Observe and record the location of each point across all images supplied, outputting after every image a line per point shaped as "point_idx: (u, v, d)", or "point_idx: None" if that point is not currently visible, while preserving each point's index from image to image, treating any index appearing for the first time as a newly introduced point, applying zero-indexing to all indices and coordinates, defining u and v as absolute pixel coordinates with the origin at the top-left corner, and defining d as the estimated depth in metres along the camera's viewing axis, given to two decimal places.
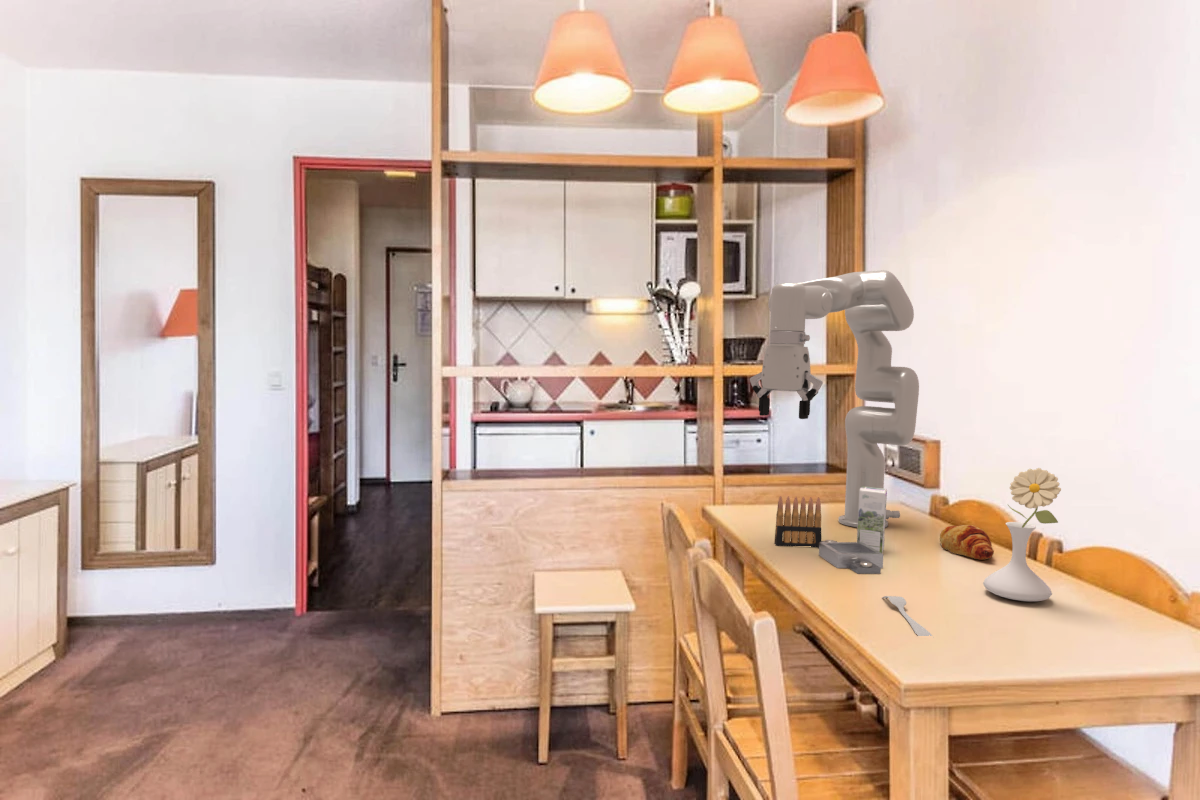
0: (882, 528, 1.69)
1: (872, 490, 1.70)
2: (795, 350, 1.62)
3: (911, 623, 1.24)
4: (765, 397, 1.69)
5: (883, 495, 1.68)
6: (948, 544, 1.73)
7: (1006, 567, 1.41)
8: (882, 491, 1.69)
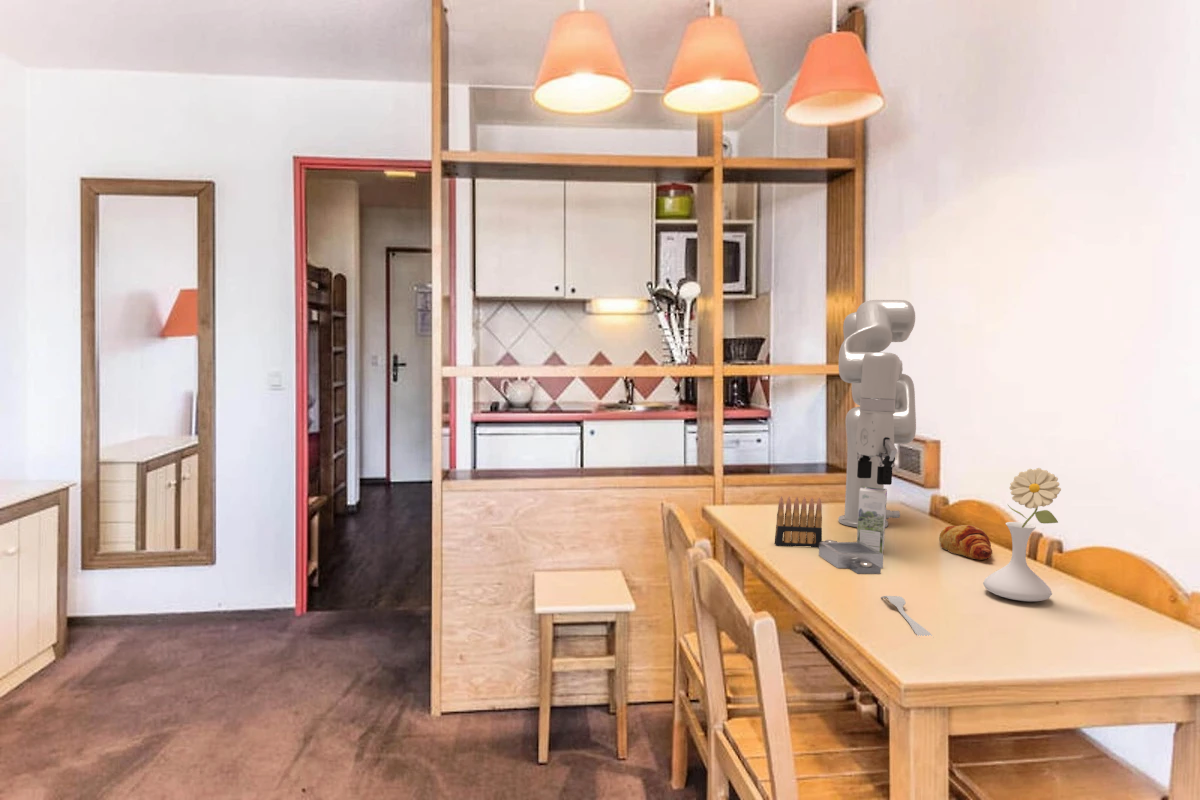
0: (882, 528, 1.69)
1: (872, 490, 1.70)
2: None
3: (911, 623, 1.24)
4: None
5: (883, 495, 1.68)
6: (947, 544, 1.73)
7: (1006, 567, 1.41)
8: (882, 491, 1.69)
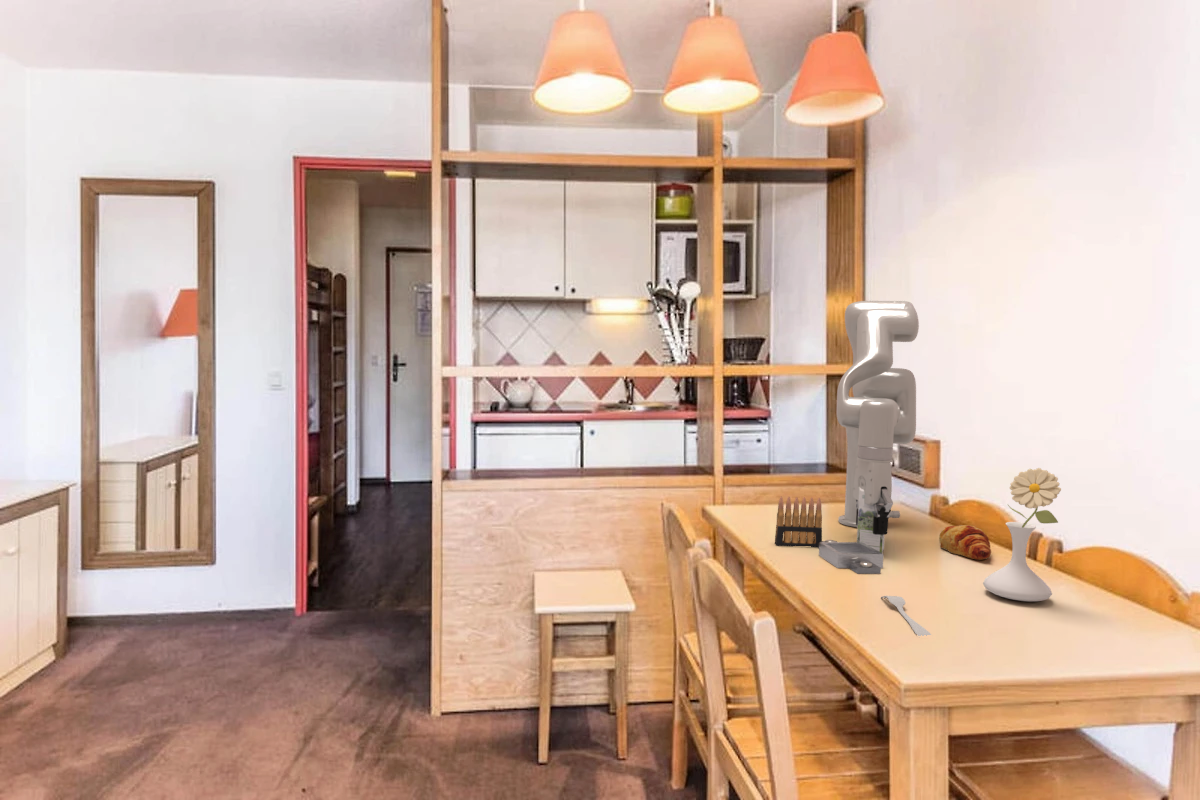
0: None
1: None
2: None
3: (910, 623, 1.24)
4: None
5: None
6: (946, 544, 1.73)
7: (1006, 567, 1.41)
8: None
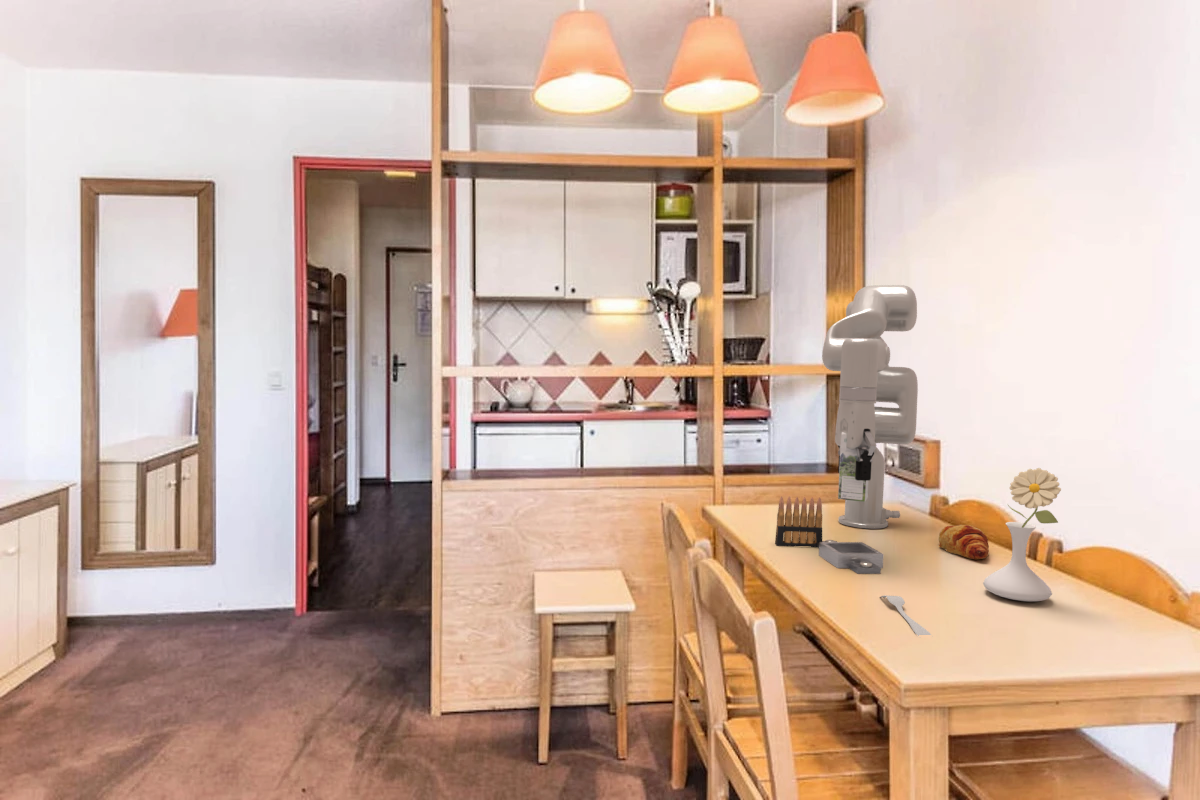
0: None
1: None
2: None
3: (910, 623, 1.24)
4: None
5: None
6: (944, 543, 1.74)
7: (1006, 567, 1.41)
8: None
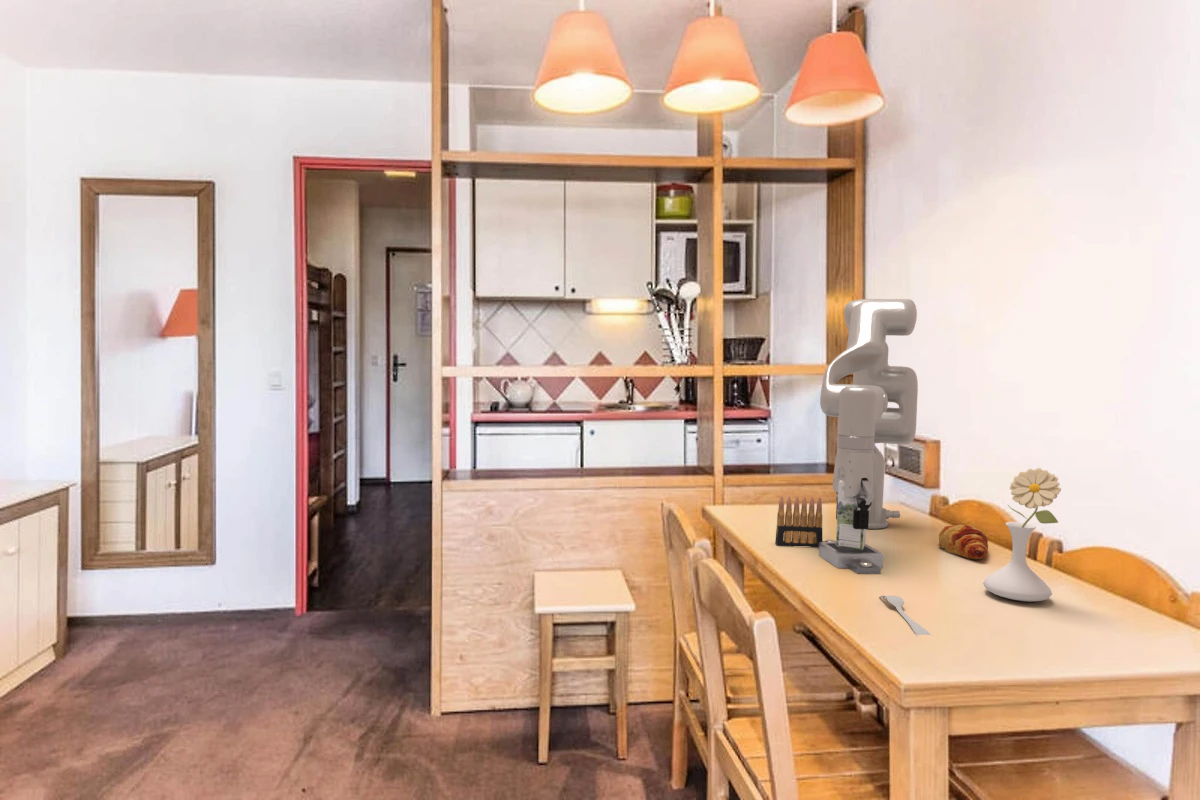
0: None
1: None
2: None
3: (910, 623, 1.25)
4: None
5: None
6: (944, 543, 1.74)
7: (1006, 567, 1.41)
8: None
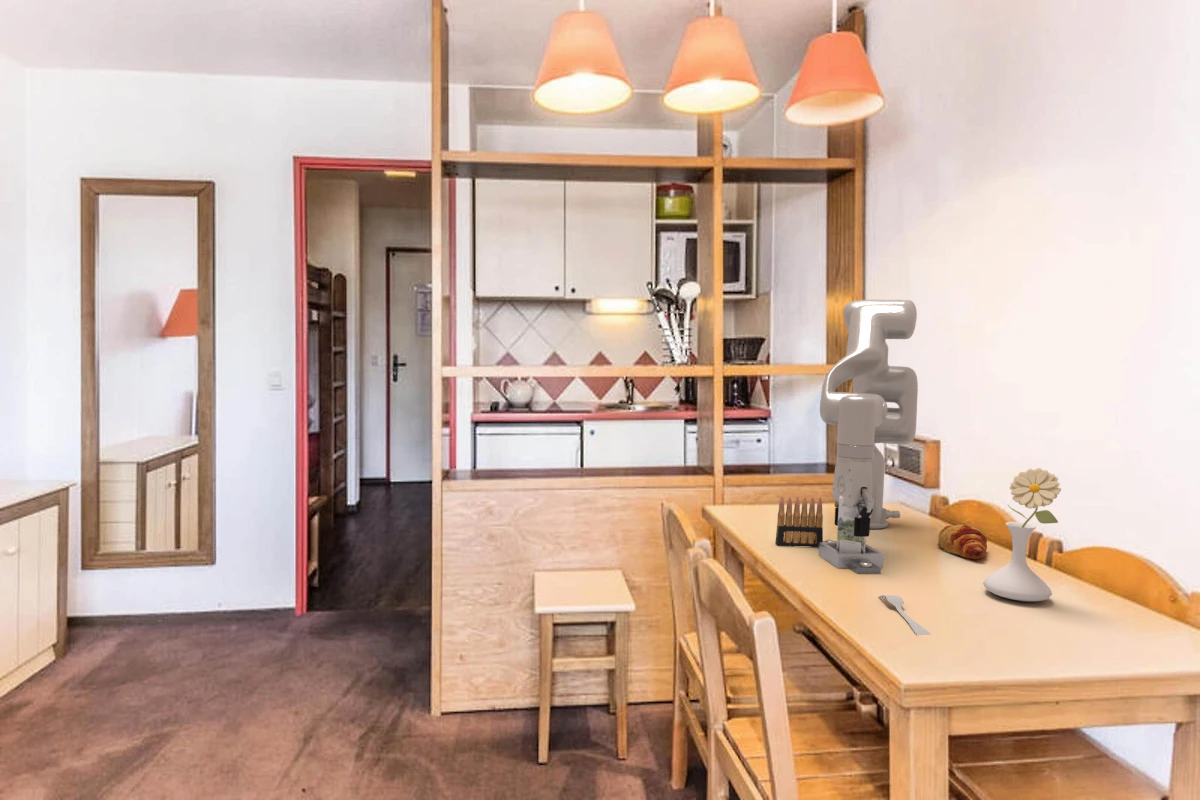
0: (863, 538, 1.59)
1: None
2: None
3: (910, 622, 1.25)
4: None
5: None
6: (943, 543, 1.74)
7: (1006, 567, 1.41)
8: None
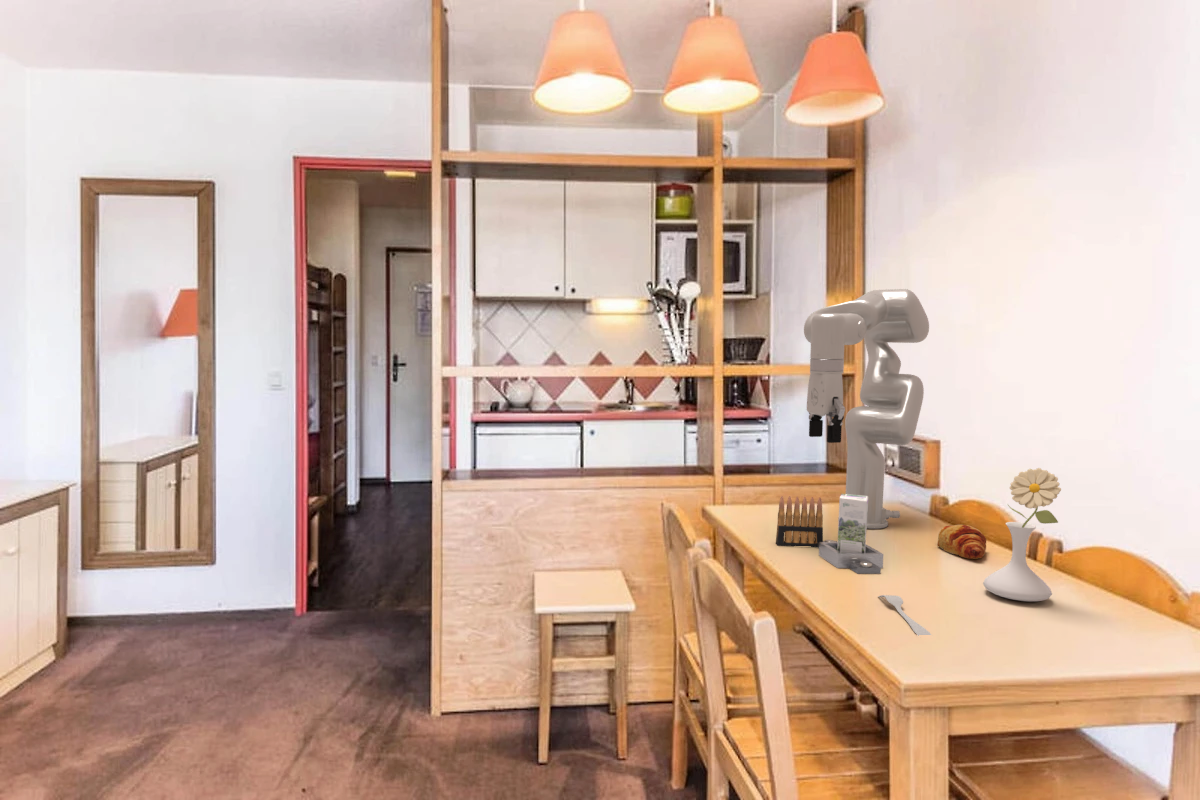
0: (864, 538, 1.59)
1: (853, 498, 1.60)
2: None
3: (909, 622, 1.25)
4: None
5: (865, 503, 1.58)
6: (942, 543, 1.74)
7: (1006, 567, 1.41)
8: (863, 499, 1.59)
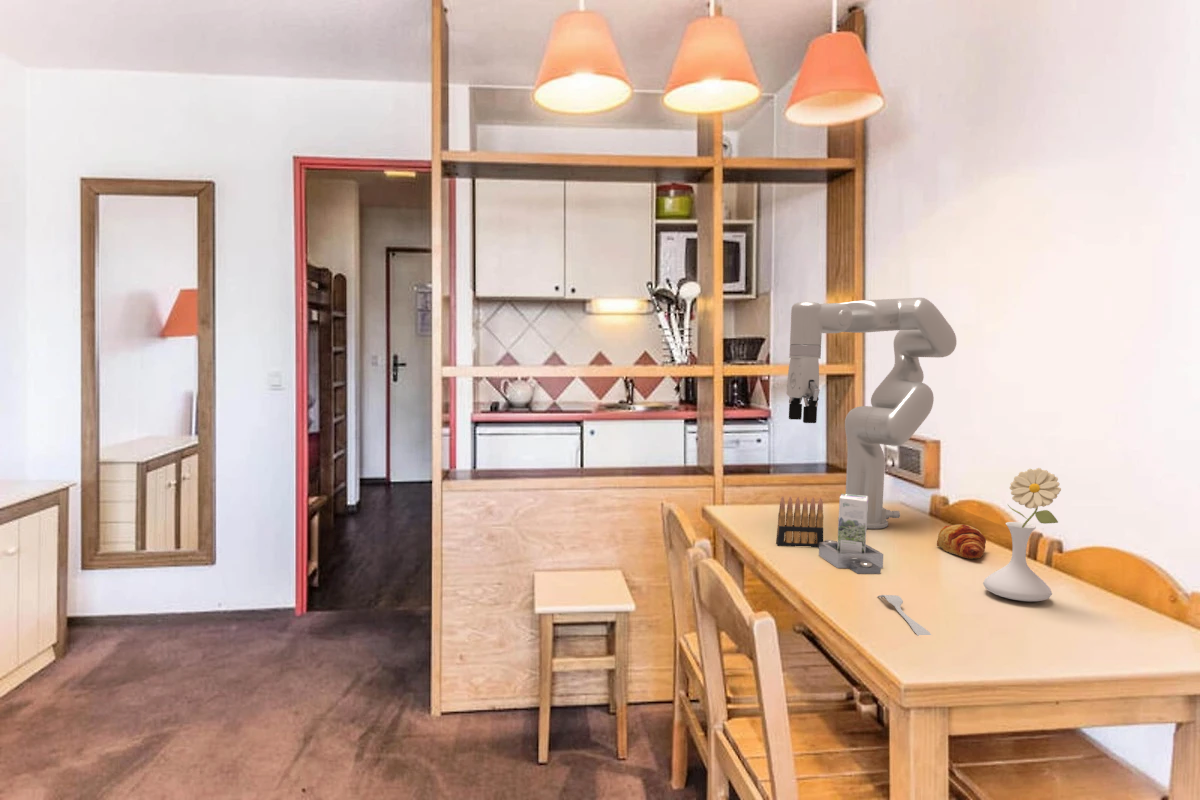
0: (864, 538, 1.59)
1: (853, 498, 1.60)
2: None
3: (909, 622, 1.25)
4: None
5: (865, 503, 1.58)
6: (941, 542, 1.74)
7: (1006, 567, 1.41)
8: (864, 499, 1.59)
